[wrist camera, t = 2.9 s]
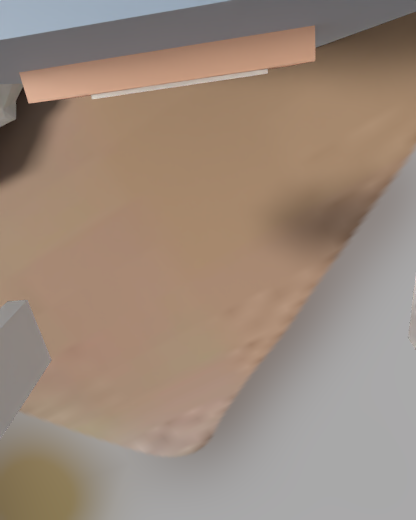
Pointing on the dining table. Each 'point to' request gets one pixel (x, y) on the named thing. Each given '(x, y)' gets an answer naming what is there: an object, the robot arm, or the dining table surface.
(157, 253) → the dining table surface
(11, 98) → the rock
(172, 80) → the box
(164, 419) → the dining table surface
